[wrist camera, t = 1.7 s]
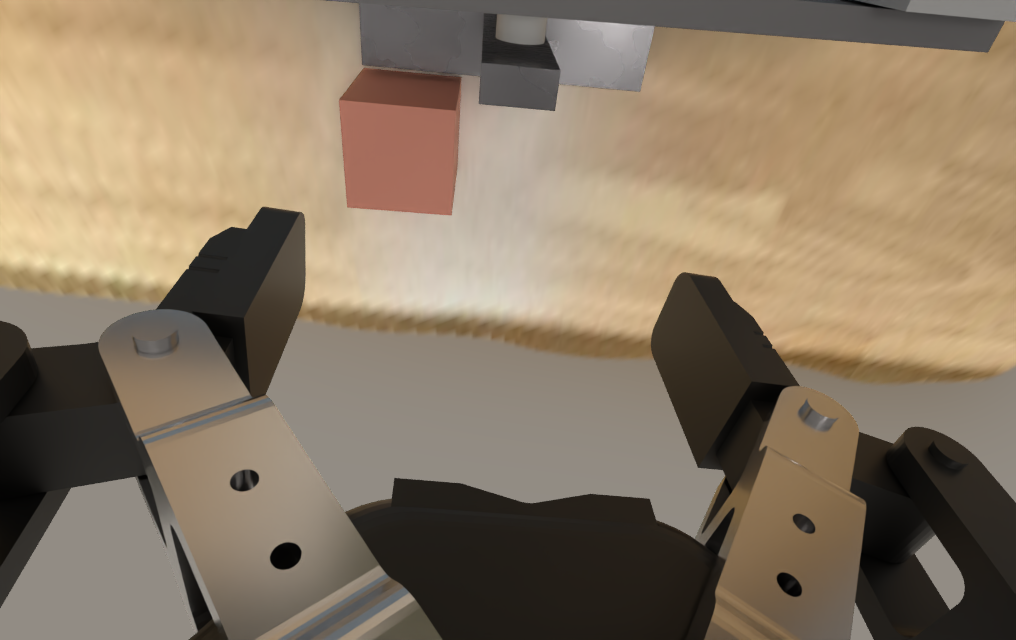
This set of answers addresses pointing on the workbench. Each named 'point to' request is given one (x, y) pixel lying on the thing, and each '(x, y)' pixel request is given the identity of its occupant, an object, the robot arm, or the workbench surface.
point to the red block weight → (401, 141)
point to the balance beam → (758, 18)
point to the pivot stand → (506, 52)
